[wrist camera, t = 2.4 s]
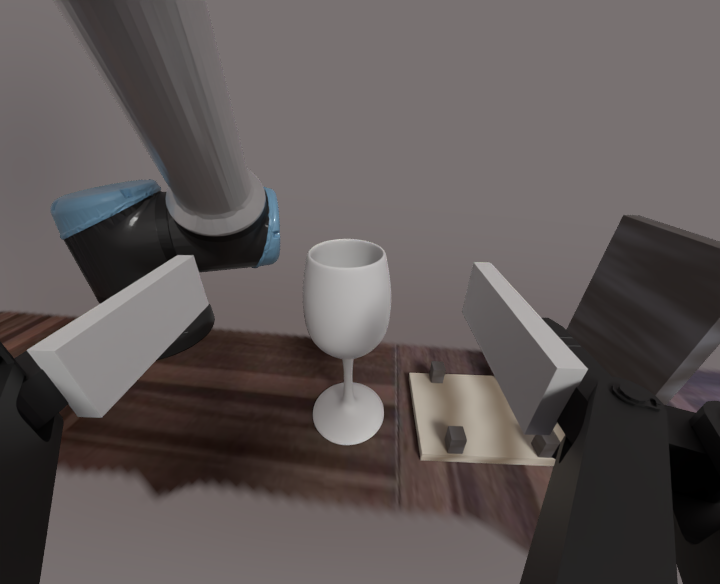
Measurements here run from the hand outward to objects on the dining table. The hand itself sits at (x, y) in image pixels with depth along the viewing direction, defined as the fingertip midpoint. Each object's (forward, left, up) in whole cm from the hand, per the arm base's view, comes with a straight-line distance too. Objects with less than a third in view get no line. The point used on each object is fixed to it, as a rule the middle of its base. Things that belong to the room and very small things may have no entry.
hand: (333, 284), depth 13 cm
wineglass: (0, +10, -24) cm, 26 cm away
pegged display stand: (+18, +10, -23) cm, 31 cm away
